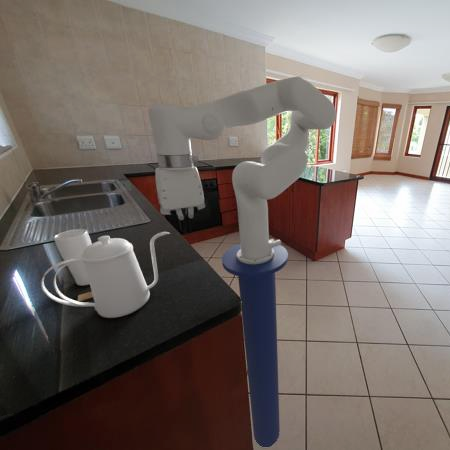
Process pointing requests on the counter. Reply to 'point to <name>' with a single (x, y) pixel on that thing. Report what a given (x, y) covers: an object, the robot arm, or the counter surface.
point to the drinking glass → (74, 252)
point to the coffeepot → (111, 277)
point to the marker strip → (85, 296)
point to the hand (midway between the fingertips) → (187, 231)
